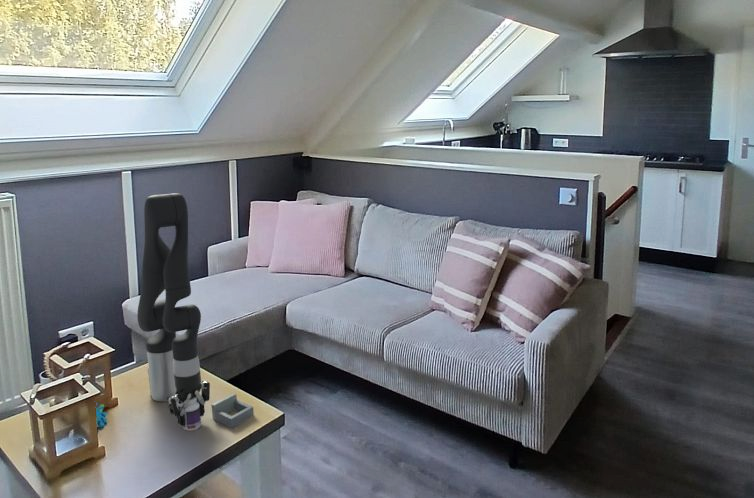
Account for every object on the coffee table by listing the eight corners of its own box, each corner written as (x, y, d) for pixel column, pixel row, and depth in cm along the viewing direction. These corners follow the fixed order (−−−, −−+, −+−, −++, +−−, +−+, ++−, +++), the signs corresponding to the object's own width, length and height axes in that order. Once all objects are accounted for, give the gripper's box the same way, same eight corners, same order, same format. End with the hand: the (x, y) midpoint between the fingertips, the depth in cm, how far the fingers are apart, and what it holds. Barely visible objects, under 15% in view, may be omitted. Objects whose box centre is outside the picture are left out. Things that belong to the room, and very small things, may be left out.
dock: (212, 418, 192) (211, 404, 191) (234, 406, 199) (233, 392, 198) (231, 427, 187) (230, 413, 186) (253, 415, 194) (252, 401, 192)
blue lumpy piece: (94, 431, 183) (72, 406, 183) (82, 443, 184) (60, 418, 184) (116, 416, 193) (95, 393, 194) (105, 428, 195) (84, 404, 195)
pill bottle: (204, 423, 189) (202, 394, 187) (194, 432, 185) (191, 403, 182) (190, 420, 191) (187, 392, 189) (179, 429, 186) (176, 400, 184)
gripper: (198, 358, 191) (203, 406, 195) (158, 375, 180) (163, 426, 184) (214, 364, 186) (218, 414, 191) (173, 382, 175) (179, 434, 180)
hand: (191, 420), depth 187 cm, fingers open, 6 cm apart
